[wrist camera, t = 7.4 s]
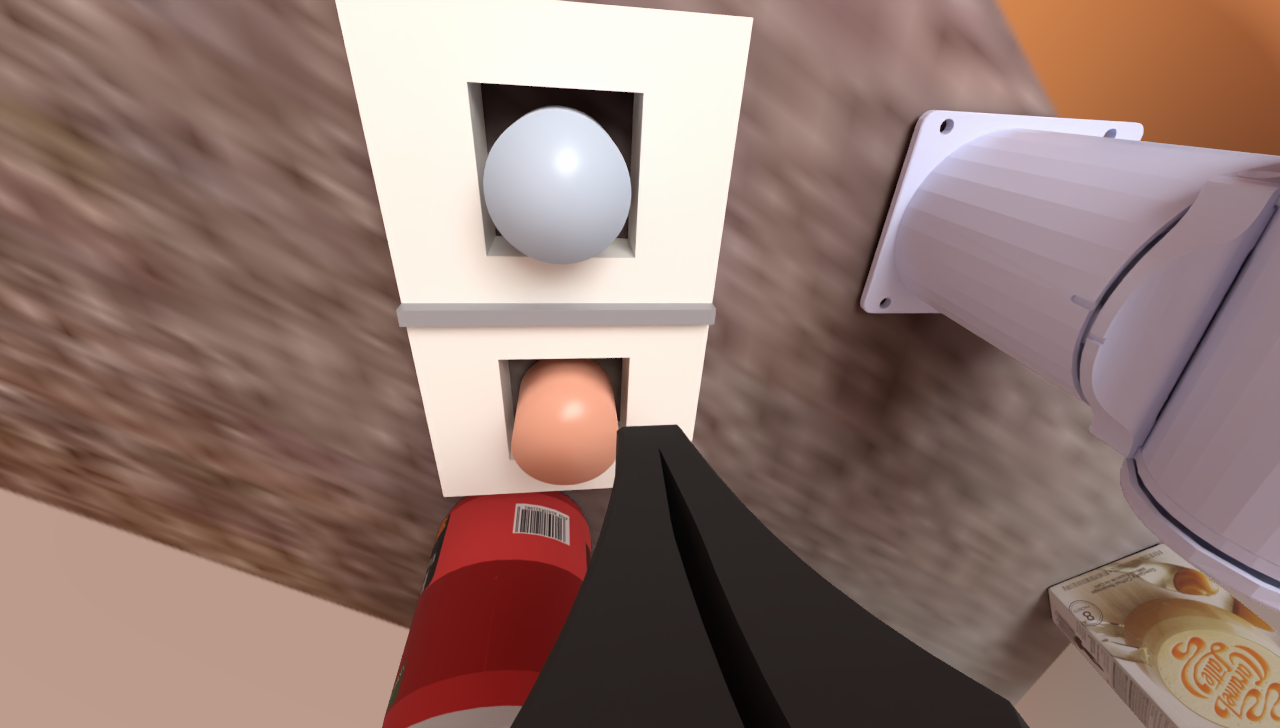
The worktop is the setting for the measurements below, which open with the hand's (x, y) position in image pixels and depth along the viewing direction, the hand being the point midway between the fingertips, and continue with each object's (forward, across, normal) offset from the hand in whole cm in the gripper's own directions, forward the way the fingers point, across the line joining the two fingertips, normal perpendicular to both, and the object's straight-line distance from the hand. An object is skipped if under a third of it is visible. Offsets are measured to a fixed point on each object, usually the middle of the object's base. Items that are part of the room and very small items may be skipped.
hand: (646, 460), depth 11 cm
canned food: (+11, +5, +14) cm, 18 cm away
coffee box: (+10, -40, +25) cm, 48 cm away
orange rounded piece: (+9, +2, +4) cm, 10 cm away
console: (+10, +2, 0) cm, 11 cm away
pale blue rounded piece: (+9, +2, -4) cm, 10 cm away
